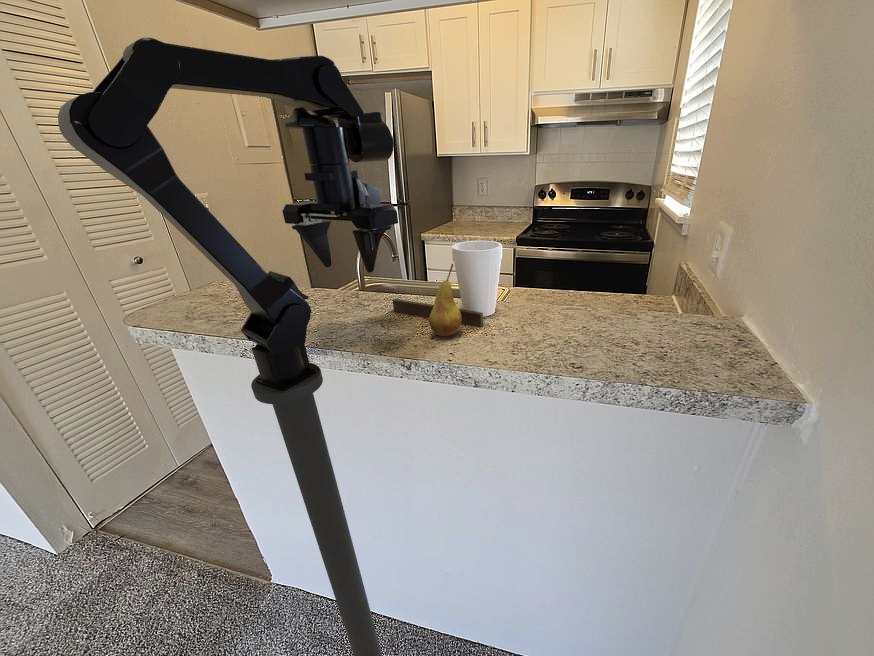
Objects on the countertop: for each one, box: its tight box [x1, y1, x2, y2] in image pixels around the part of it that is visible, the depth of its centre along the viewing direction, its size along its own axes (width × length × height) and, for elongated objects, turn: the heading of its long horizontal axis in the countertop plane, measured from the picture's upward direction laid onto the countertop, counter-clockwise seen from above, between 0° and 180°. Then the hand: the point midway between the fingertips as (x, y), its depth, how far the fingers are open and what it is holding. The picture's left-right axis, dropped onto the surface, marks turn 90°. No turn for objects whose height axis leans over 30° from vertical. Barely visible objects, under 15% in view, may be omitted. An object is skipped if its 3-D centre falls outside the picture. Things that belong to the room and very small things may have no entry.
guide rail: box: [392, 298, 484, 328], centre depth 78 cm, size 1×20×2 cm, turn 63°
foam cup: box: [451, 239, 503, 318], centre depth 78 cm, size 10×9×13 cm
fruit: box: [428, 263, 462, 337], centre depth 69 cm, size 6×6×12 cm
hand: (348, 269), depth 66 cm, fingers open, 9 cm apart
